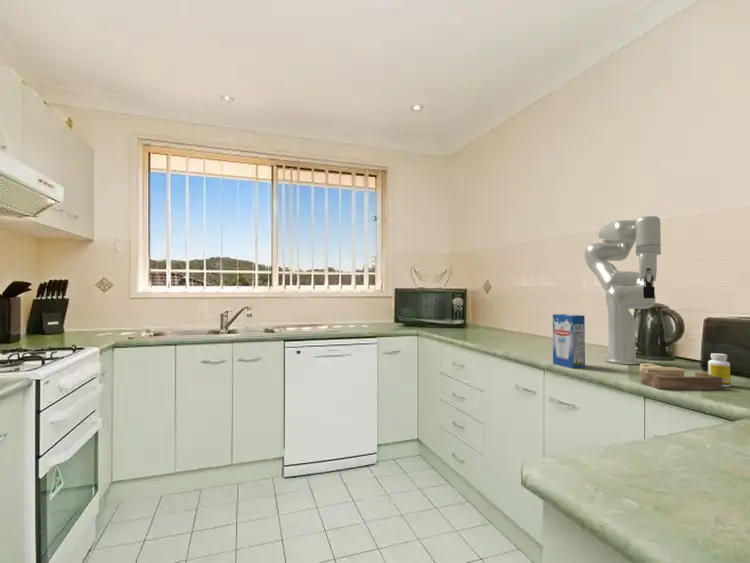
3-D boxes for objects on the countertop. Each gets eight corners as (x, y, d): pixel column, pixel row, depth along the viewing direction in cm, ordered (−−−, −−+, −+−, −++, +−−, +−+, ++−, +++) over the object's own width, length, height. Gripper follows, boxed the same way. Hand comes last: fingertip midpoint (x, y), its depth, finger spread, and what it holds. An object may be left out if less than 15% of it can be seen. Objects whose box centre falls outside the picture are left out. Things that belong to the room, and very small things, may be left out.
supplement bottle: (735, 387, 124) (734, 355, 124) (714, 386, 125) (714, 355, 125) (723, 383, 129) (722, 353, 130) (704, 382, 130) (703, 352, 131)
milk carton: (585, 367, 156) (584, 315, 156) (572, 368, 153) (572, 315, 154) (564, 362, 165) (564, 314, 165) (552, 363, 163) (552, 314, 163)
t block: (628, 374, 142) (628, 363, 142) (662, 374, 142) (662, 363, 142) (647, 381, 132) (647, 369, 132) (684, 381, 132) (684, 369, 132)
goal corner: (640, 382, 130) (640, 371, 130) (700, 382, 130) (700, 372, 130) (658, 389, 122) (658, 377, 122) (722, 389, 122) (722, 377, 122)
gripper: (635, 253, 155) (636, 297, 155) (635, 249, 141) (636, 298, 140) (659, 252, 151) (660, 298, 151) (661, 248, 137) (662, 298, 136)
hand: (648, 298), depth 145 cm, fingers open, 9 cm apart
